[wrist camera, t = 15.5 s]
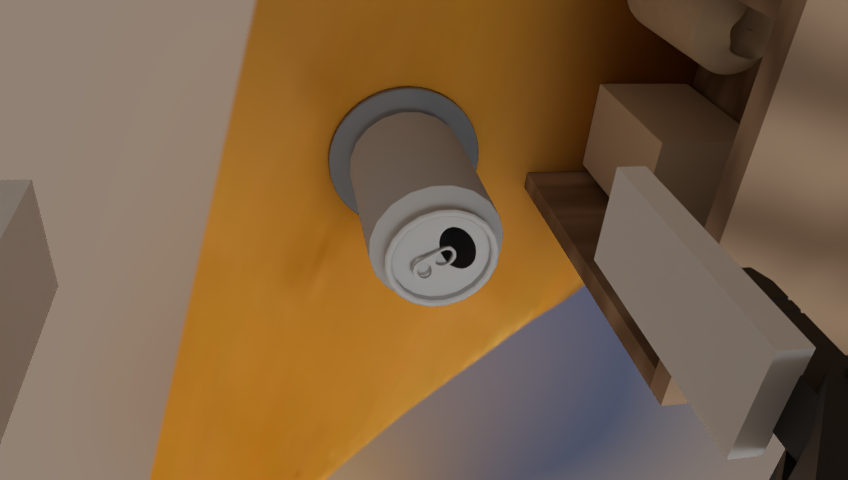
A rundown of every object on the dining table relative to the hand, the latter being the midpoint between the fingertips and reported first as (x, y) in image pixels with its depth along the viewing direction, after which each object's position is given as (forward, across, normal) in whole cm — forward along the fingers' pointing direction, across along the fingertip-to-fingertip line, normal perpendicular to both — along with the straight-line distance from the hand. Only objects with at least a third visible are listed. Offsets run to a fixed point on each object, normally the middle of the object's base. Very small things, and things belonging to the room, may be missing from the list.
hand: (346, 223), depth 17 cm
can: (+28, +7, -13) cm, 32 cm away
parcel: (+28, +23, -11) cm, 38 cm away
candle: (+29, +23, -1) cm, 37 cm away
